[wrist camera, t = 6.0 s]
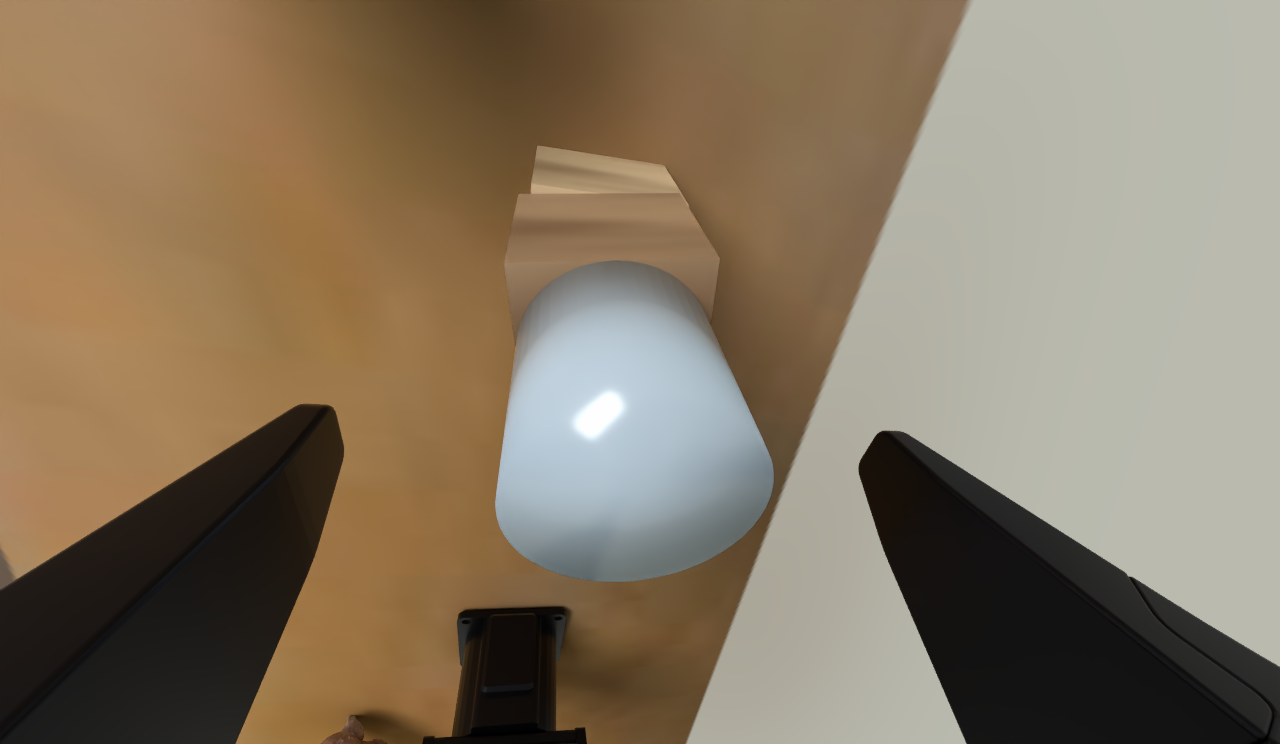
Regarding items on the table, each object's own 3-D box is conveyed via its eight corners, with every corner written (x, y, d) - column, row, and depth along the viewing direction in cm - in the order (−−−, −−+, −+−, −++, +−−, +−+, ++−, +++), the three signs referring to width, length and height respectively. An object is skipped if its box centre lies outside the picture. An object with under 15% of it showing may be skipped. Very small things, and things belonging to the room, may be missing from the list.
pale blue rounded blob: (684, 424, 12) (730, 579, 9) (513, 417, 11) (494, 584, 8) (731, 272, 10) (815, 407, 6) (519, 248, 9) (496, 389, 6)
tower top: (668, 327, 15) (697, 416, 12) (533, 333, 14) (526, 426, 11) (679, 193, 12) (720, 258, 9) (518, 193, 12) (504, 262, 9)
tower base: (642, 277, 18) (659, 336, 15) (531, 266, 17) (524, 325, 14) (663, 165, 16) (689, 206, 13) (537, 145, 15) (531, 183, 12)
